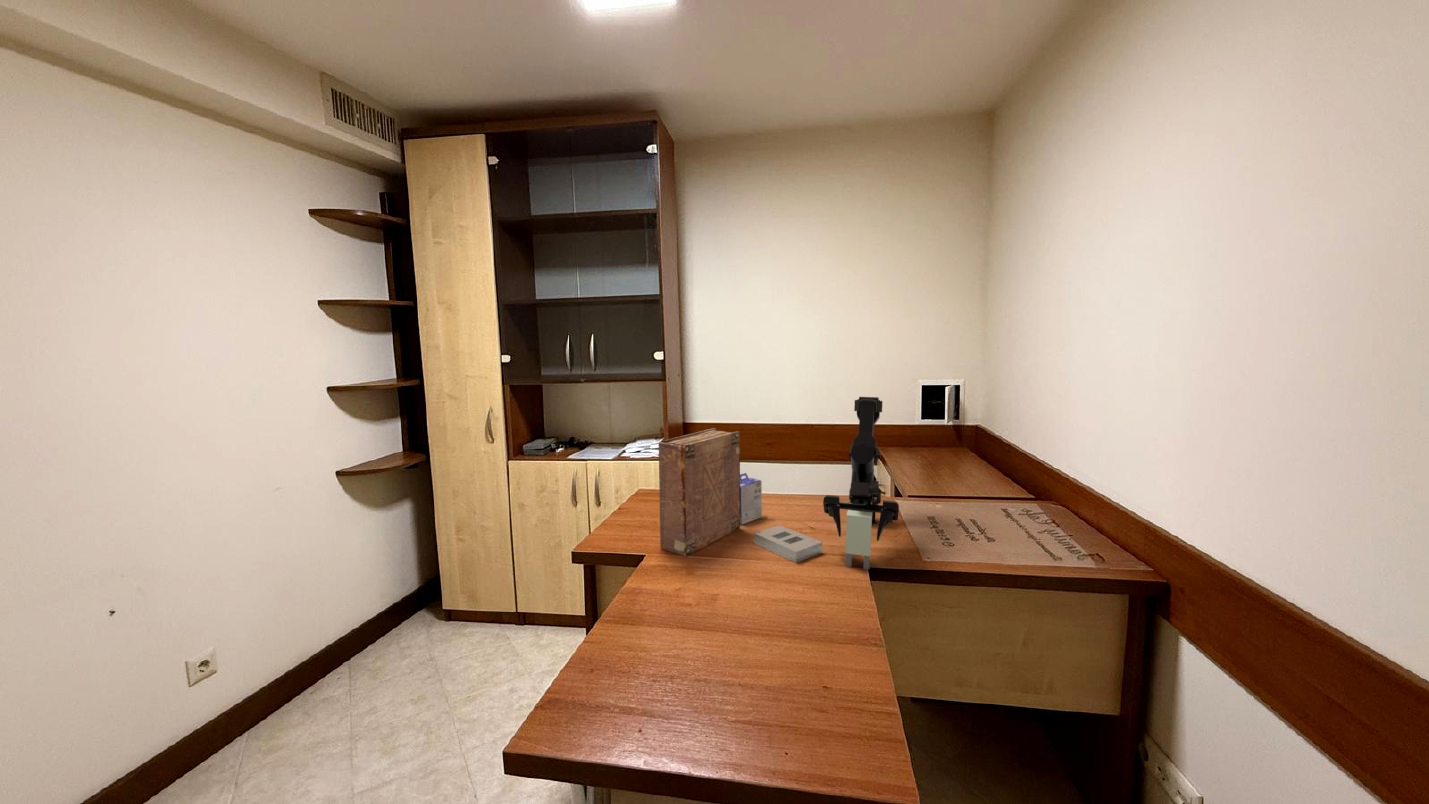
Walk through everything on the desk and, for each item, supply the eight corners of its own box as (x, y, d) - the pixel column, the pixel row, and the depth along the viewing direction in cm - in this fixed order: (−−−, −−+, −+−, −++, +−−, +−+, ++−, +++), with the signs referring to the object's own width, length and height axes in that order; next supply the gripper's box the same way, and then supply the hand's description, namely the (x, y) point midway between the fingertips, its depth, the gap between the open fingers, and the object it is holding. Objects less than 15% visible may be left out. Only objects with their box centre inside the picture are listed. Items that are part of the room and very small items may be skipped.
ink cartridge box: (749, 513, 173) (750, 470, 171) (762, 517, 169) (763, 473, 167) (728, 520, 166) (728, 476, 164) (741, 525, 162) (741, 479, 160)
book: (715, 522, 165) (715, 427, 161) (740, 528, 160) (740, 431, 156) (660, 549, 145) (658, 441, 141) (685, 557, 140) (684, 446, 136)
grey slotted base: (779, 534, 155) (779, 525, 154) (821, 552, 142) (822, 542, 142) (754, 543, 149) (754, 533, 148) (796, 563, 136) (796, 551, 136)
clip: (846, 559, 138) (847, 509, 136) (870, 562, 136) (872, 512, 134) (845, 566, 134) (846, 515, 132) (869, 569, 132) (871, 517, 130)
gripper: (824, 465, 139) (818, 520, 130) (900, 471, 133) (899, 528, 124) (827, 486, 147) (821, 538, 138) (898, 492, 141) (897, 547, 133)
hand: (858, 538), depth 133 cm, fingers open, 9 cm apart
